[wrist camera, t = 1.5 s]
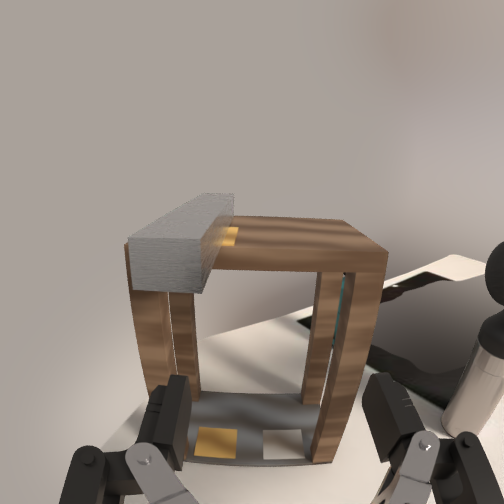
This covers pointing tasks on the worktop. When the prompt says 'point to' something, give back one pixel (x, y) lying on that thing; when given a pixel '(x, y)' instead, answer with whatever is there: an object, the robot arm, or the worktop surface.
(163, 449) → the robot arm
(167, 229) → the gray rectangular block
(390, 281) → the worktop surface
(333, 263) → the switch shelf
